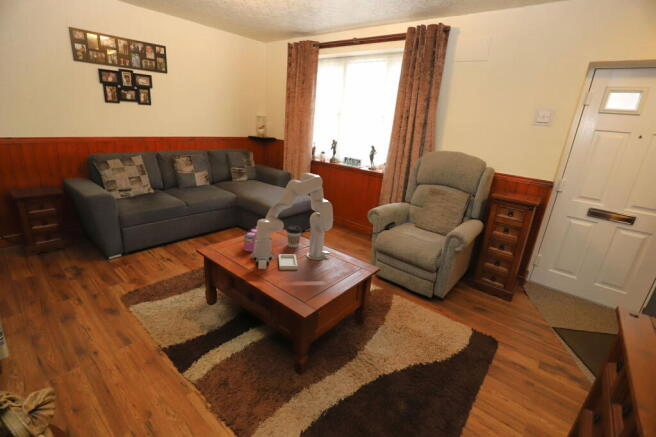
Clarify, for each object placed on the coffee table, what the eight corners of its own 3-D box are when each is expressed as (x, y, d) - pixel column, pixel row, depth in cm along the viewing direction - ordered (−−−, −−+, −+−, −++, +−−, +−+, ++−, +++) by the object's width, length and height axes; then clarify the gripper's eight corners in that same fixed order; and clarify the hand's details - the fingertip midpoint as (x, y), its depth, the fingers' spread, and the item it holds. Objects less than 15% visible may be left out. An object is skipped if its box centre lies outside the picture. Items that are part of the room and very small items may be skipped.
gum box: (257, 240, 240) (257, 224, 236) (266, 242, 238) (266, 226, 235) (243, 251, 219) (243, 233, 215) (253, 252, 217) (253, 235, 214)
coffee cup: (298, 250, 227) (299, 231, 223) (283, 248, 229) (284, 228, 225) (302, 245, 238) (304, 226, 234) (288, 243, 240) (289, 224, 236)
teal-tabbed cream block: (266, 260, 207) (266, 251, 205) (266, 269, 195) (266, 259, 193) (258, 260, 206) (259, 251, 204) (258, 269, 194) (258, 259, 192)
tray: (295, 257, 215) (295, 254, 214) (297, 269, 198) (297, 265, 197) (278, 257, 213) (278, 254, 212) (279, 269, 195) (279, 265, 195)
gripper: (277, 237, 195) (276, 264, 200) (249, 237, 192) (248, 264, 197) (277, 241, 188) (276, 269, 193) (248, 241, 185) (247, 269, 190)
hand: (262, 266), depth 195 cm, fingers closed on teal-tabbed cream block, 5 cm apart
